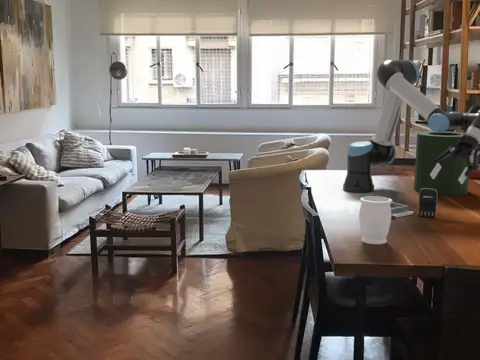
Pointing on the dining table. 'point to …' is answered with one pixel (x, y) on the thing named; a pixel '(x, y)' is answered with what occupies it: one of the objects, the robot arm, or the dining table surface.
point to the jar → (375, 219)
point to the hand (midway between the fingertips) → (445, 179)
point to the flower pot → (450, 172)
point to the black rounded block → (427, 202)
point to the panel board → (399, 210)
